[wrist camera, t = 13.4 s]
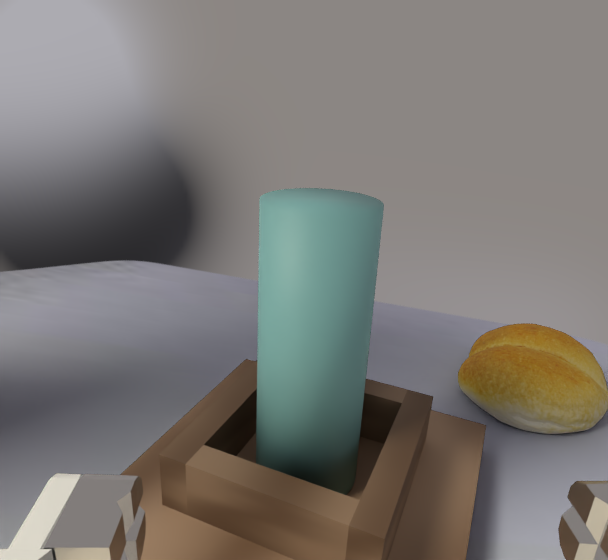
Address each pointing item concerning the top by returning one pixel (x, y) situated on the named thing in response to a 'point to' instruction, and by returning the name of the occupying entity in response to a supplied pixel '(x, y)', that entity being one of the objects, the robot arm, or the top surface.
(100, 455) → the top surface
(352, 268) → the teal post
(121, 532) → the robot arm
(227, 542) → the walnut base
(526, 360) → the bread roll
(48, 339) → the top surface
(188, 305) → the top surface
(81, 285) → the top surface
